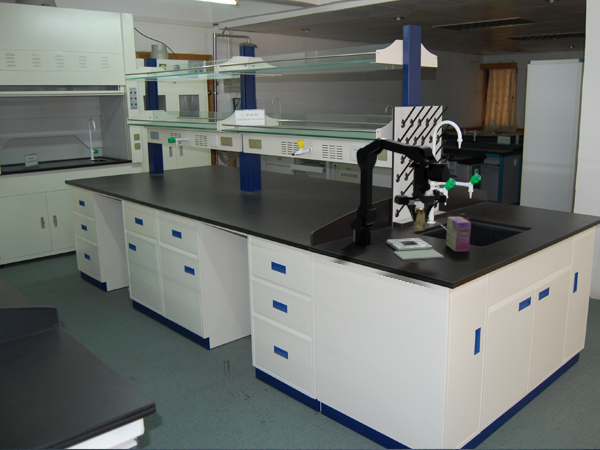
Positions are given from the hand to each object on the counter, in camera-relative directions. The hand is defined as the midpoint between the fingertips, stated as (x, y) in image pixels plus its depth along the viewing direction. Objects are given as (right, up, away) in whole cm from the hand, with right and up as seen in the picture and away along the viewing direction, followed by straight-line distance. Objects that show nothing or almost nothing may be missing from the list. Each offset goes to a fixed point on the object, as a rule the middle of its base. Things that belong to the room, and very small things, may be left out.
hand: (419, 221), depth 195 cm
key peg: (0, -3, +1) cm, 3 cm away
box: (+18, -11, +12) cm, 24 cm away
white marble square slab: (-1, -10, +15) cm, 18 cm away
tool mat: (0, -13, +3) cm, 13 cm away
